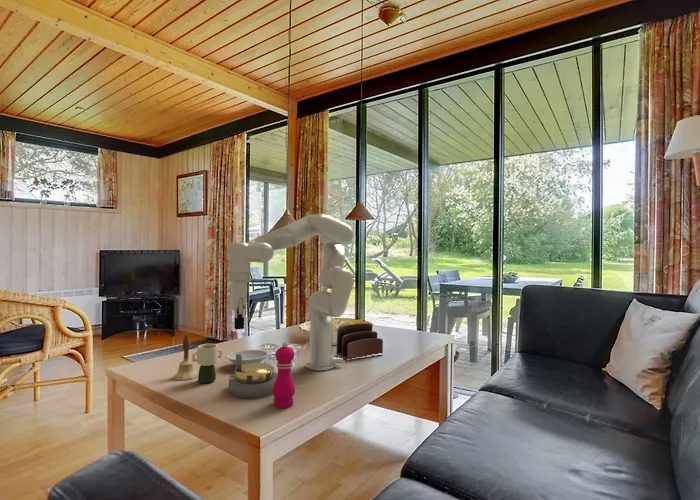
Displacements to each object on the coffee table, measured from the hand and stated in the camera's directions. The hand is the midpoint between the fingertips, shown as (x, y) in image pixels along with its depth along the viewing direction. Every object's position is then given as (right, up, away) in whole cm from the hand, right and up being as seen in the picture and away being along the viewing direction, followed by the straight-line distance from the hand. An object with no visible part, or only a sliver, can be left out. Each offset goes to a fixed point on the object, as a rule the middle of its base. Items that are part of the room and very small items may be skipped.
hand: (239, 328), depth 139 cm
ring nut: (+6, -17, -2) cm, 18 cm away
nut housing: (+6, -21, -2) cm, 22 cm away
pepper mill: (+18, -22, -14) cm, 32 cm away
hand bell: (-22, -20, +8) cm, 31 cm away
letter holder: (+44, -22, +43) cm, 65 cm away
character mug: (-13, -20, +4) cm, 24 cm away
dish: (-3, -20, +22) cm, 30 cm away
